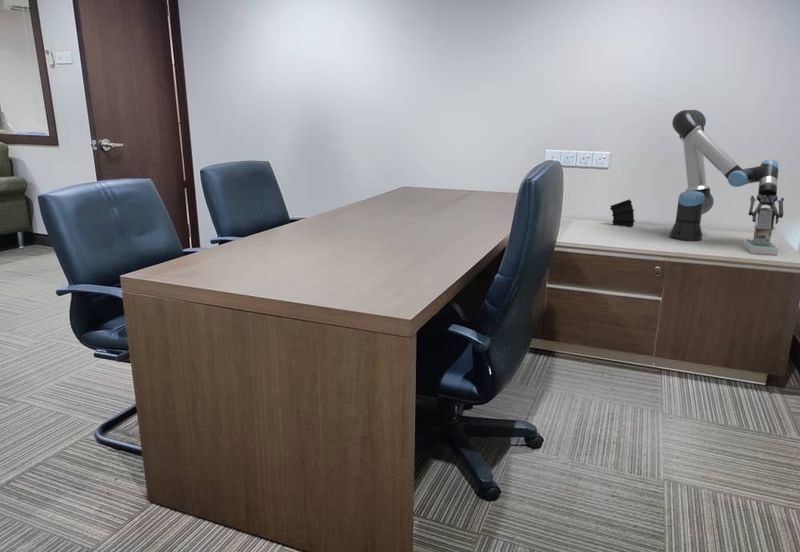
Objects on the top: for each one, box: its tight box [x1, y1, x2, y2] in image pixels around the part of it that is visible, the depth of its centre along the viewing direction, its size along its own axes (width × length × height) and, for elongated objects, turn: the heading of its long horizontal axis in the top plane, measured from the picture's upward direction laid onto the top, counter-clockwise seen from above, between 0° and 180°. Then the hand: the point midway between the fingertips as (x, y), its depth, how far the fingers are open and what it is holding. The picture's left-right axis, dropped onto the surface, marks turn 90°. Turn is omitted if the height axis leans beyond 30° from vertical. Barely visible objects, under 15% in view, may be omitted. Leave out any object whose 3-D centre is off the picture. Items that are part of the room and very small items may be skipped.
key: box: [747, 239, 777, 248], centre depth 280 cm, size 9×12×2 cm
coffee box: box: [752, 207, 776, 245], centre depth 278 cm, size 9×6×16 cm
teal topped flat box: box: [742, 239, 779, 256], centre depth 280 cm, size 11×14×4 cm
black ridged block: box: [610, 198, 635, 228], centre depth 336 cm, size 4×13×15 cm, turn 56°
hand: (764, 227), depth 274 cm, fingers closed on coffee box, 6 cm apart
